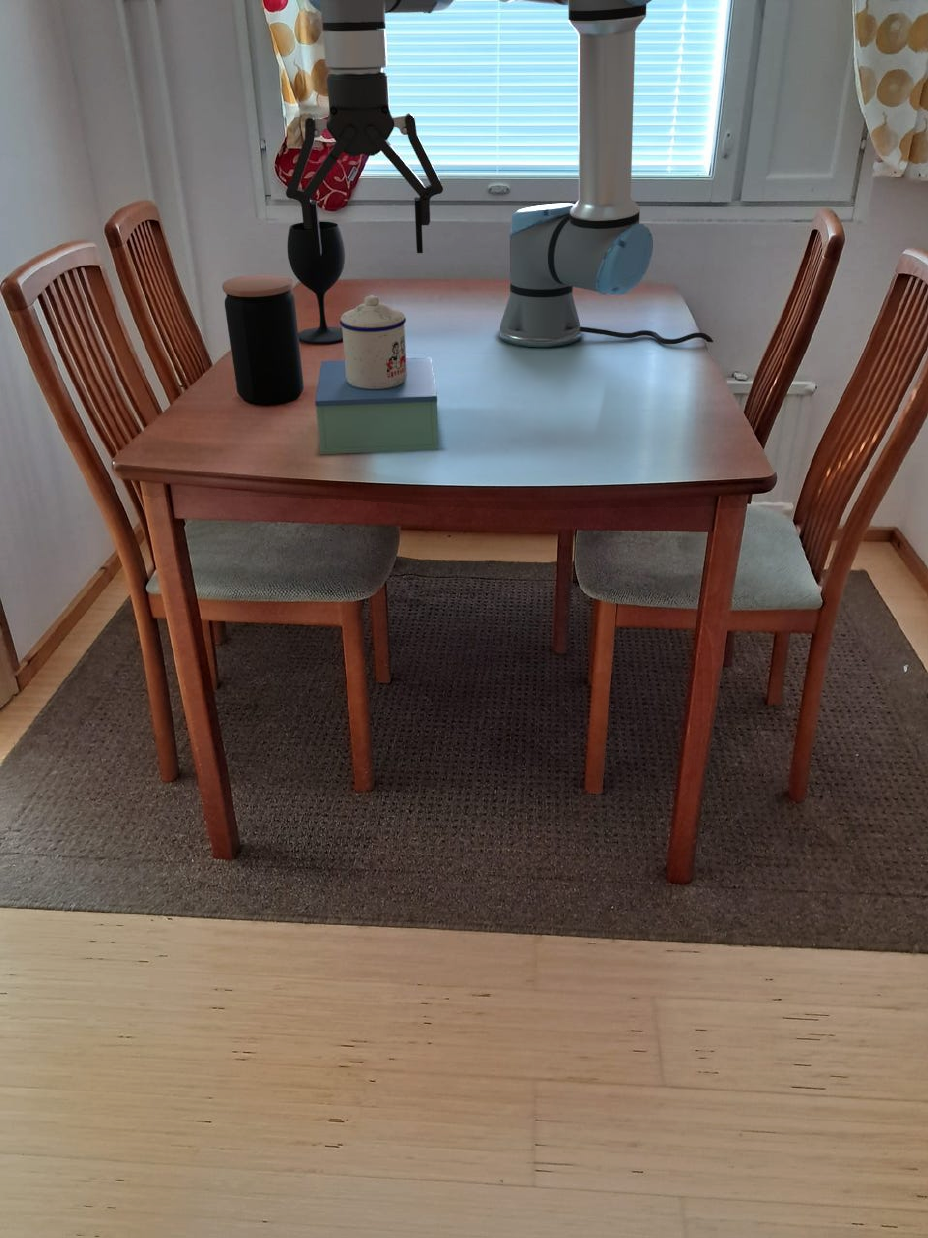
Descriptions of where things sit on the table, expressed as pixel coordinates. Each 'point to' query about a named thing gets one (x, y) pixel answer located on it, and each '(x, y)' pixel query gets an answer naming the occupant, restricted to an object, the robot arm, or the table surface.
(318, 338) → the wine glass
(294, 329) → the coffee jar
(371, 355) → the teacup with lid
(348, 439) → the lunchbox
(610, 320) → the table surface
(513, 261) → the robot arm
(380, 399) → the lunchbox lid
